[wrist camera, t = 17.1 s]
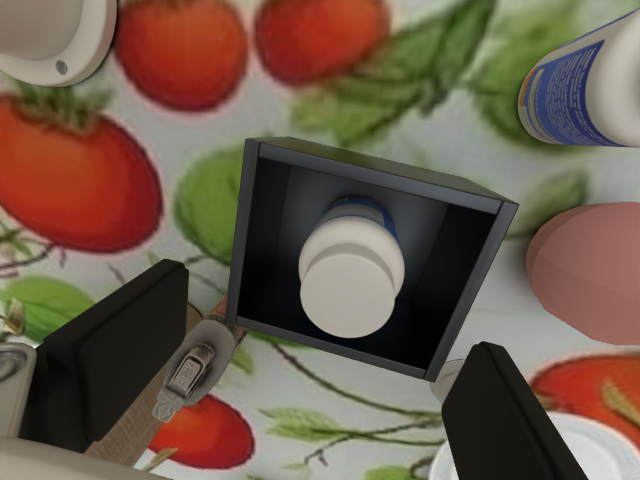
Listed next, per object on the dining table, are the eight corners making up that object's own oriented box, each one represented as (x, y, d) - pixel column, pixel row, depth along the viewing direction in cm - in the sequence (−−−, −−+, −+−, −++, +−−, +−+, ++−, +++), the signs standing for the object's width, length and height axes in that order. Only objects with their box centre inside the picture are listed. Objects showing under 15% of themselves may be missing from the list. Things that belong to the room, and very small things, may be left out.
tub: (266, 267, 24) (223, 322, 17) (288, 136, 21) (244, 138, 14) (416, 308, 24) (435, 383, 16) (467, 178, 20) (520, 204, 13)
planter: (99, 324, 30) (-573, 796, 9) (152, 266, 26) (-746, 815, 5) (174, 389, 31) (-242, 932, 10) (234, 343, 28) (-206, 1017, 7)
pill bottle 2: (556, 162, 19) (730, 190, 10) (494, 104, 18) (614, 76, 9) (644, 84, 17) (966, 27, 8) (576, 17, 16) (834, -129, 7)
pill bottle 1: (387, 270, 22) (397, 365, 13) (316, 259, 23) (279, 342, 14) (401, 198, 20) (426, 251, 11) (323, 188, 21) (287, 230, 12)
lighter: (238, 343, 28) (171, 450, 18) (207, 324, 27) (123, 421, 18) (281, 282, 25) (227, 372, 15) (247, 259, 25) (171, 337, 15)
